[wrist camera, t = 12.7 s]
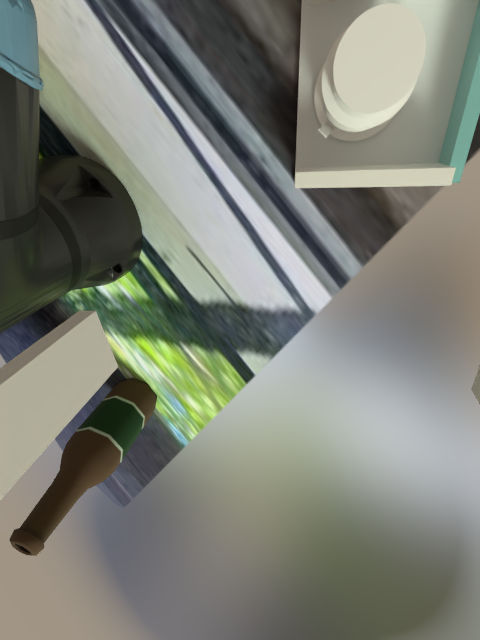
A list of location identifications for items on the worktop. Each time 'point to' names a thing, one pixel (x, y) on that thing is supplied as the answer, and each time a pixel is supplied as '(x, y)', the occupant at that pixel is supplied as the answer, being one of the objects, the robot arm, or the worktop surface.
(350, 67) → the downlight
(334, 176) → the holder
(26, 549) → the beer bottle
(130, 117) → the worktop surface
